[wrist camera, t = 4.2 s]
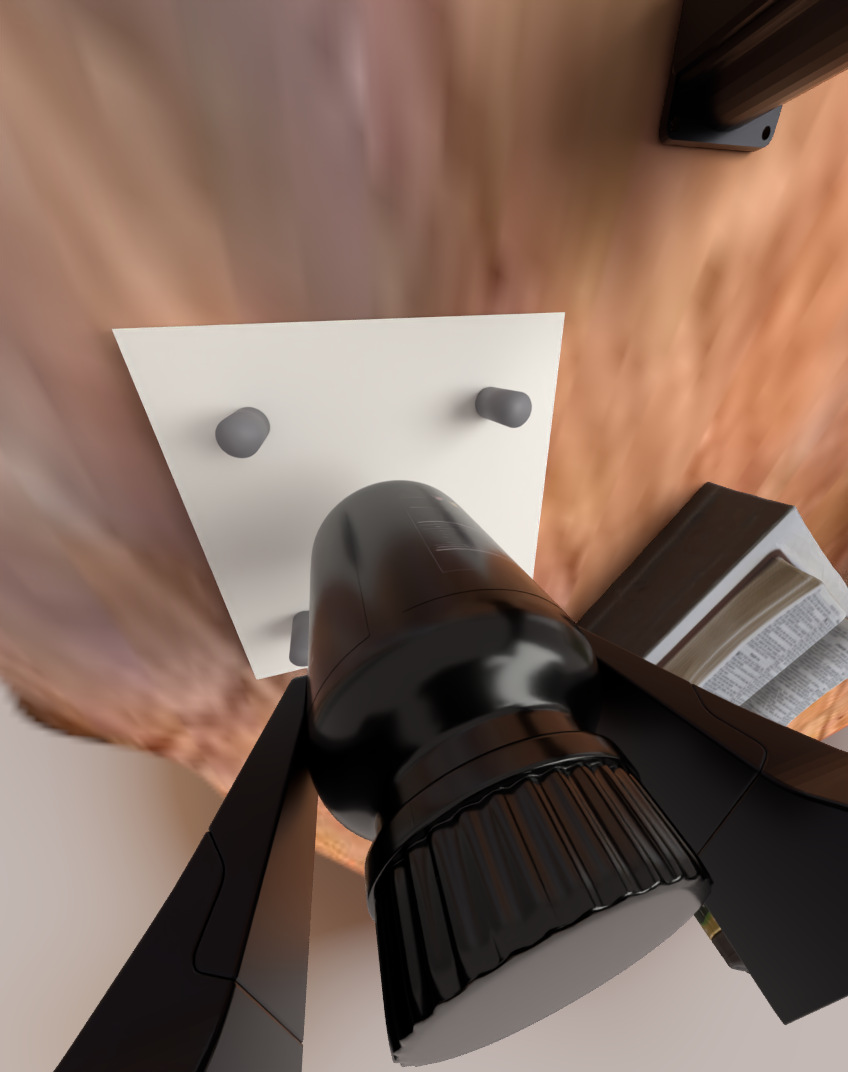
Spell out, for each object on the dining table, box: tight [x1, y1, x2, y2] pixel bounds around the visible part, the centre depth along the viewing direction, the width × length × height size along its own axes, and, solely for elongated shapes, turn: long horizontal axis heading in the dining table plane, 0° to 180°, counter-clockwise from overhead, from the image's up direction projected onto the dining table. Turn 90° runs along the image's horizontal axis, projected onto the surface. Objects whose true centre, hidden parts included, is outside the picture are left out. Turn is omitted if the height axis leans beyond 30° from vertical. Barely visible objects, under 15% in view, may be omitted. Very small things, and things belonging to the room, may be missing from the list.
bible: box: [576, 482, 848, 726], centre depth 31 cm, size 23×27×10 cm
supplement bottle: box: [306, 480, 714, 1067], centre depth 10 cm, size 7×7×12 cm
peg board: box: [112, 312, 565, 679], centre depth 20 cm, size 20×20×4 cm
